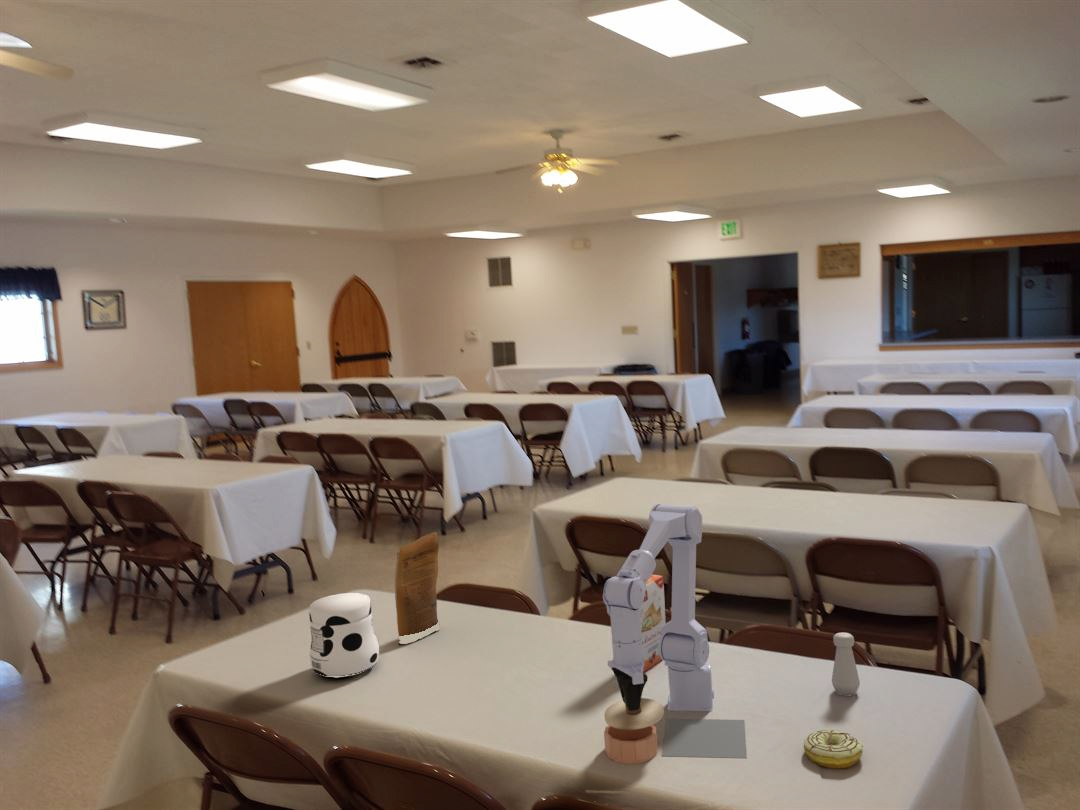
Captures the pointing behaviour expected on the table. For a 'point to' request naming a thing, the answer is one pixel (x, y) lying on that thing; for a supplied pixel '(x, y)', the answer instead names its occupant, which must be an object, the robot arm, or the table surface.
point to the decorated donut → (833, 748)
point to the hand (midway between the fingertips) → (631, 705)
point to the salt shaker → (845, 665)
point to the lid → (634, 715)
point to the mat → (704, 738)
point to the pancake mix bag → (417, 585)
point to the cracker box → (652, 620)
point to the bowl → (630, 744)
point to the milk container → (342, 635)
